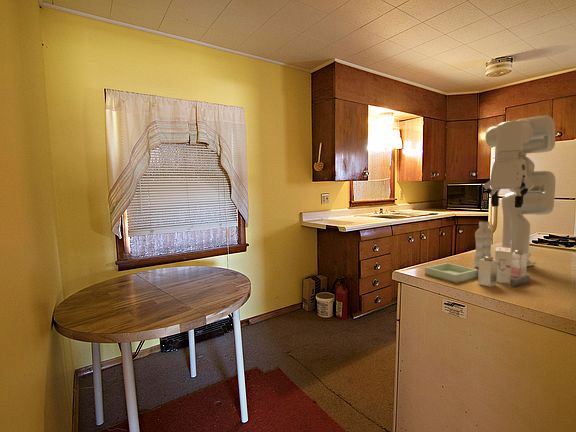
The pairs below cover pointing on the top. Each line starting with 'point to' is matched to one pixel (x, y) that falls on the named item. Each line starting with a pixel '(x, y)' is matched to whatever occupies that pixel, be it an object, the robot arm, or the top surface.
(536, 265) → the top surface
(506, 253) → the ink cartridge box
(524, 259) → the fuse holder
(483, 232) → the plastic bottle
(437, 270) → the tray
